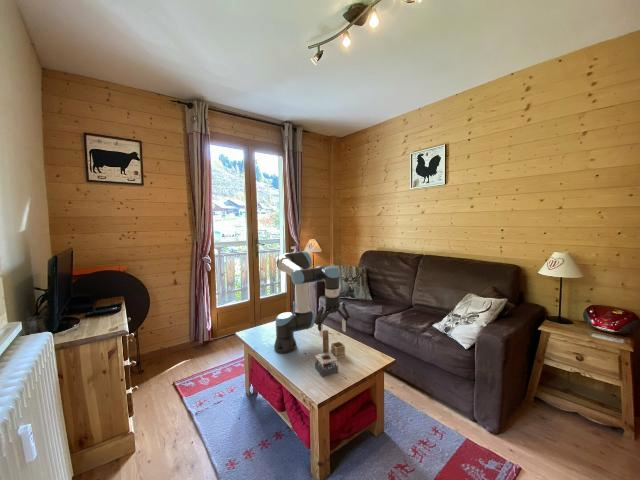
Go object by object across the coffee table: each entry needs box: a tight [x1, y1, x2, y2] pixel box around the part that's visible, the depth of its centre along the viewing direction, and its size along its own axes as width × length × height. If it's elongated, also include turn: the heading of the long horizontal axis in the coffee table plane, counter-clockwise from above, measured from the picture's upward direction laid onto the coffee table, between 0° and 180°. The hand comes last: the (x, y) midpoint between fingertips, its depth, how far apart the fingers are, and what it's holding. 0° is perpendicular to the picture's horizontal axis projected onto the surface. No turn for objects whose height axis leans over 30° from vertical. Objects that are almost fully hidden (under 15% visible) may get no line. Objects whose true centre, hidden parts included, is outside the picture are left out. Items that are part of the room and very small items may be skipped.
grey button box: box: [314, 351, 339, 378], centre depth 157 cm, size 10×10×8 cm
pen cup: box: [330, 341, 346, 359], centre depth 174 cm, size 7×7×7 cm
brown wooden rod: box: [322, 329, 330, 359], centre depth 169 cm, size 4×4×18 cm
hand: (332, 333), depth 147 cm, fingers open, 13 cm apart
